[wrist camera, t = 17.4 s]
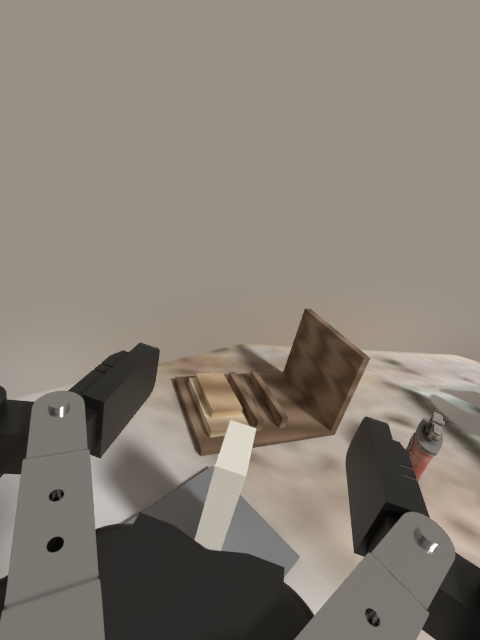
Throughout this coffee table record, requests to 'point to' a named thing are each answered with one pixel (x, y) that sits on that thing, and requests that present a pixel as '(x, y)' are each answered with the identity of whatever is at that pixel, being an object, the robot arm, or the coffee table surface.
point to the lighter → (425, 443)
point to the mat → (243, 531)
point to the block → (225, 485)
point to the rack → (278, 392)
